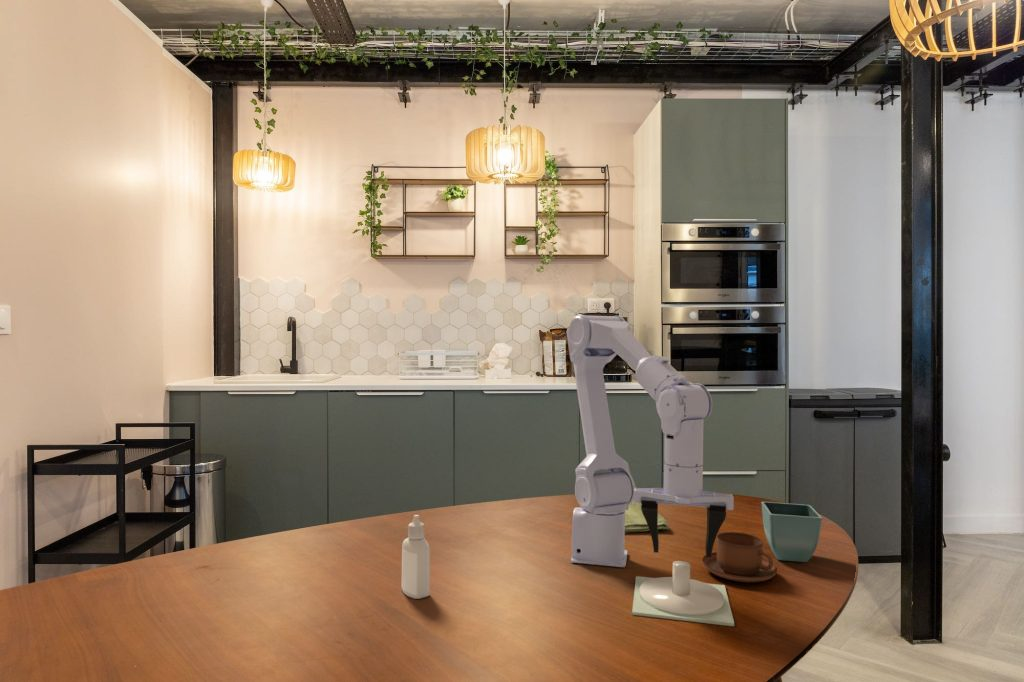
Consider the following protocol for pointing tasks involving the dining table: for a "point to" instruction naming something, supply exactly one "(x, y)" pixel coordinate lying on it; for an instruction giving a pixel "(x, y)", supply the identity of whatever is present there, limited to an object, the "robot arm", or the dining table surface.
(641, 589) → the lid
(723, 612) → the plate
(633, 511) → the washcloth
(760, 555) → the cup and saucer
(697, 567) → the dining table surface
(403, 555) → the eye dropper bottle
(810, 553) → the flower pot
